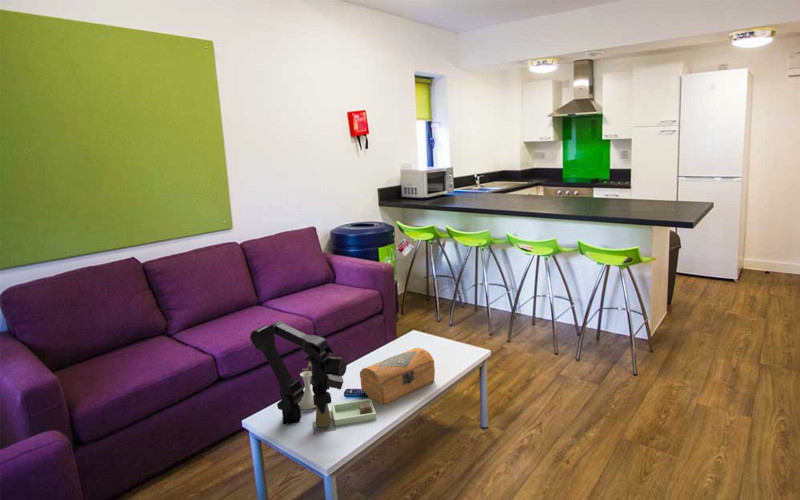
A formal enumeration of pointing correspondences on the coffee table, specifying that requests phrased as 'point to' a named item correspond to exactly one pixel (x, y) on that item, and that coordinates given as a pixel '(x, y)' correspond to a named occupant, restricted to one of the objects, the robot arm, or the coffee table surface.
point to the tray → (351, 412)
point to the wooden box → (398, 375)
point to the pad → (324, 429)
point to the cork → (323, 417)
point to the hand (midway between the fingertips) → (322, 410)
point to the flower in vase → (307, 391)
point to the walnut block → (365, 408)
